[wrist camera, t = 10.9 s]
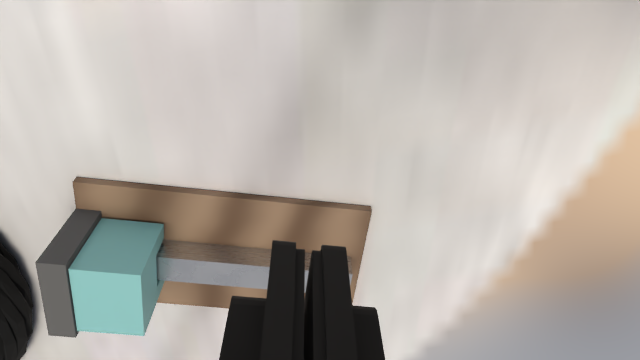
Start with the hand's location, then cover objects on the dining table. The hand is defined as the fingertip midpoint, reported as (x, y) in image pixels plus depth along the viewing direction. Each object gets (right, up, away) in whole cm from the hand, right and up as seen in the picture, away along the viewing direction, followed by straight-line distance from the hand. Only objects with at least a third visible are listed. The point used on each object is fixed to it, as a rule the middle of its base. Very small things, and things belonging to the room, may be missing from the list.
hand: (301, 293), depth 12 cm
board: (-8, -4, +33) cm, 34 cm away
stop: (-19, -2, +32) cm, 37 cm away
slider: (-15, -3, +31) cm, 35 cm away
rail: (-8, -4, +33) cm, 34 cm away
